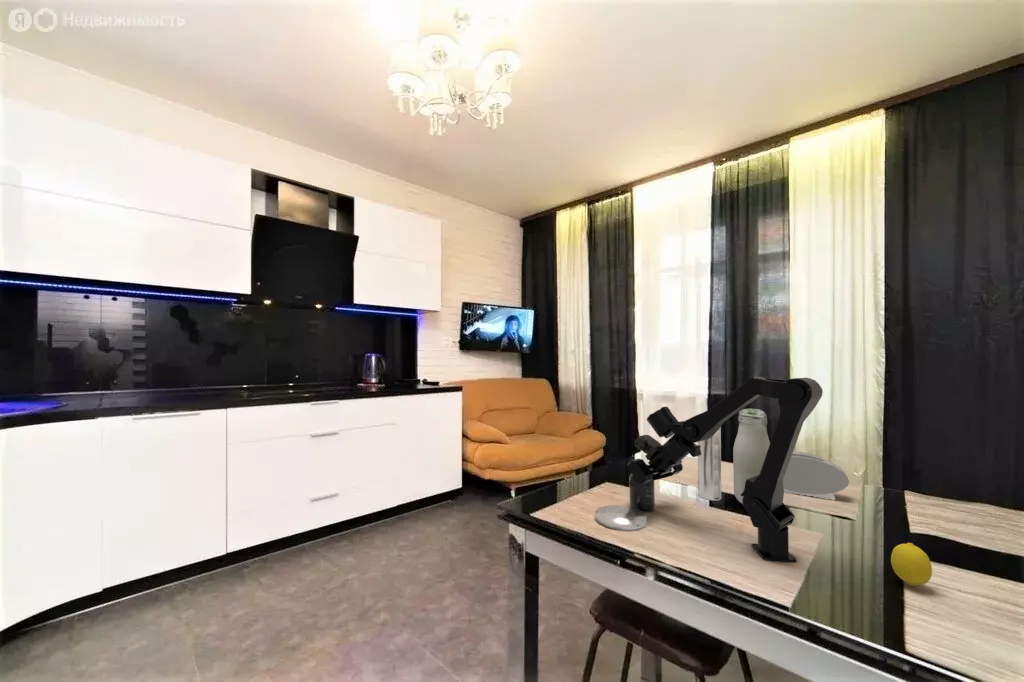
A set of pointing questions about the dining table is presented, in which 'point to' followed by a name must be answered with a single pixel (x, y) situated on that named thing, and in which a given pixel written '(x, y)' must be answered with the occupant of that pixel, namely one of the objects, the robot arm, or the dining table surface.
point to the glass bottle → (749, 448)
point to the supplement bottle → (642, 496)
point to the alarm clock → (813, 476)
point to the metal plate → (620, 518)
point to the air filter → (710, 468)
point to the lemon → (911, 564)
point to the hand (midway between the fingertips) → (637, 483)
